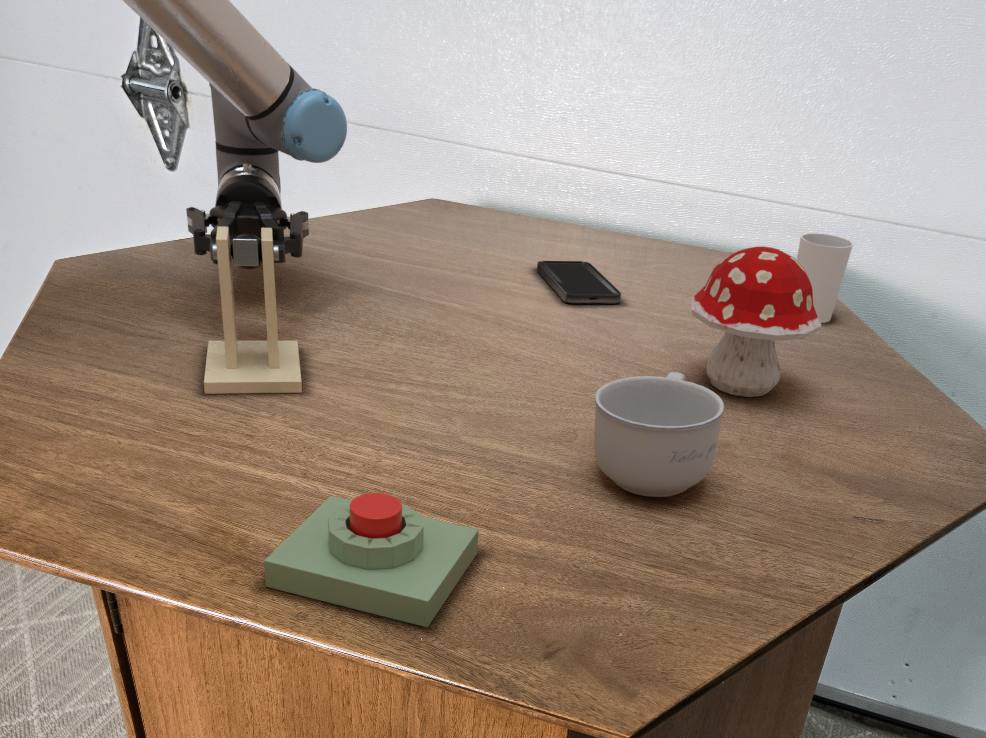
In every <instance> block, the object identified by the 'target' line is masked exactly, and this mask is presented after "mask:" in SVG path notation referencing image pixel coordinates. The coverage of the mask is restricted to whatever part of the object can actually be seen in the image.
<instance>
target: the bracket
mask: <svg viewBox="0 0 986 738" xmlns="http://www.w3.org/2000/svg"><path fill="white" fill-rule="evenodd" d="M261 242H262V259H263V264H262V273H263V290H264V291H263V293H264V305H265V306H264V307H265V309H264V310H265V322H266V323H265V325H266V340H238V334H237V322H236V307H235V296H234V295H235V293H234V282H233V281H234V280H233V269H232V256H231V254H230V240H229V227H220V226H218V227H217V235H216V244H212V254H213V259H214V260H218V264H217V266H218V267H217V268H218V270H217V271H218V279H219V281H218V282H219V293H220V304H221V316H222V329H223V340H208V342H207V350H206V360H205V369H204V378H203V388H204V394H205V395H215V394H216V395H218V394H219V395H221V394H224V395H225V394H226V395H227V394H291V393H294V394H295V393H299V394H301V393H302V392H303V387H302V386H303V385H302V384H303V383H302V371H301V363H300V353H299V352H300V351H299V342H298V340H279V334H278V333H279V332H278V317H277V315H278V313H277V297H276V296H277V295H276V274H275V275H274V266H275V263H274V261H279V248H278V245H273V238H272V228H261Z"/></svg>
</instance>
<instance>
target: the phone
mask: <svg viewBox="0 0 986 738" xmlns="http://www.w3.org/2000/svg"><path fill="white" fill-rule="evenodd" d="M536 266H537V267H536V271H537V272H538V274H539V275H540V276H541V277H542V278H543V280H544V281H545V282H546V283H547V284H548V286H550V287H551V289H552V290H553V291H554V292H555V293H556V294H557V295H558V297H559V298H560V299H561V300H562V302H564V303H567V304H572V305H573V304H574V305H576V304H577V305H579V304H581V305H583V304H584V305H585V304H588V305H589V304H590V305H591V304H594V305H596V304H606V305H607V304H612V305H614V304H615V305H616V304H619V303H621V297H622V292H620V290H619V289H618V288H617V287H616V286H615V285H613V283H611V282H610V281H609V280H608V279H607V278H606V277H605V275H603V274H602V273H601V272H600V271H599V270H598V269H597V268H596V267H595V266H594V265H592V263H590V262H588V261H583V260H539V261H537V265H536Z"/></svg>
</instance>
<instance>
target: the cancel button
mask: <svg viewBox="0 0 986 738" xmlns="http://www.w3.org/2000/svg"><path fill="white" fill-rule="evenodd" d="M351 500H352V501H351V503H350V529H351V531H352V532H353V533H354V534H355V535H358V536H362V537H366V538H370V539H376V538H388V537H391V536H393V535H396V534H398V533H399V532H400V531H401V529H402V504H403V503H402V502H401V501H400V500H399V499H398V497H395V496H393V495H390V494H387V493H380V492H369V493H365V494H361V495H358V496H356V497H355V498H353V499H351Z"/></svg>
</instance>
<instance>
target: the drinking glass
mask: <svg viewBox="0 0 986 738" xmlns="http://www.w3.org/2000/svg"><path fill="white" fill-rule="evenodd" d="M853 247H854V243H853V242H852V241H851V240H849V239H847V238H844V237H841V236H837V235H832V234H828V233H827V234H826V233H818V232H813V233H812V232H811V233H809V232H808V233H804V234H802V235H800V239H799V244H798V249H797V255H796V260H797V261H798V262H799V263H800V264H801V265H802V267H803V268H804V270H805V272H806V274H807V276H808V278H809V280H810V283H811V285H812V291H813V305H814V308H815V310H816V312H817V314H818V317H819V320H820V323H821V324H823V323H824V324H825V323H828V322H830V321H831V319H832V316H833V313H834V309H835V306H836V303H837V299H838V296H839V293H840V289H841V286H842V283H843V279H844V276H845V273H846V271H847V270H846V269H847V266H848V263H849V259H850V256H851V254H852V253H851V252H852V250H853Z"/></svg>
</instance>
